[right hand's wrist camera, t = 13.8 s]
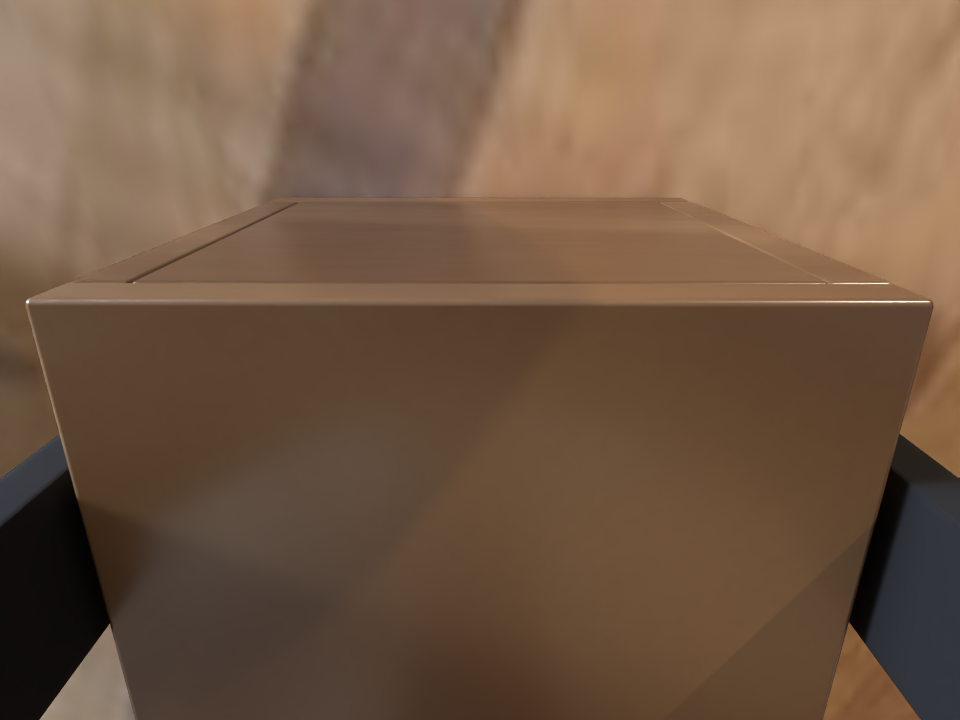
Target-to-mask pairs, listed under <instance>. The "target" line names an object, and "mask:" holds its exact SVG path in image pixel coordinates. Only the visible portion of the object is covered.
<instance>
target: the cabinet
mask: <svg viewBox="0 0 960 720" xmlns="http://www.w3.org/2000/svg"><path fill="white" fill-rule="evenodd" d="M25 306H26V310H27V314H28V317H29V321H30V325H31V329H32V332H33V336H34V340H35V344H36V347H37V351H38V355H39V359H40V362H41V366H42V370H43V374H44V377H45V381H46V385H47V389H48V392H49V396H50V400H51V404H52V407H53V411H54V415H55V419H56V422H57V426H58V430H59V434H60V437H61V441H62V445H63V449H64V452H65V456H66V460H67V464H68V468H69V471H70V475H71V479H72V483H73V486H74V490H75V494H76V498H77V501H78V505H79V509H80V513H81V516H82V520H83V524H84V528H85V531H86V535H87V539H88V543H89V546H90V550H91V554H92V558H93V561H94V565H95V569H96V573H97V576H98V580H99V584H100V588H101V591H102V595H103V599H104V603H105V606H106V610H107V614H108V618H109V621H110V625H111V629H112V633H113V636H114V640H115V644H116V648H117V651H118V655H119V659H120V663H121V667H122V670H123V674H124V678H125V682H126V685H127V689H128V693H129V697H130V700H131V704H132V708H133V712H134V715H135V719H136V720H823V716H824V712H825V709H826V705H827V701H828V698H829V694H830V690H831V686H832V683H833V679H834V675H835V672H836V668H837V664H838V660H839V657H840V653H841V649H842V645H843V642H844V638H845V634H846V631H847V627H848V623H849V619H850V616H851V612H852V608H853V604H854V601H855V597H856V593H857V590H858V586H859V582H860V578H861V575H862V571H863V567H864V563H865V560H866V556H867V552H868V549H869V545H870V541H871V537H872V534H873V530H874V526H875V523H876V519H877V515H878V511H879V508H880V504H881V500H882V496H883V493H884V489H885V485H886V482H887V478H888V474H889V470H890V467H891V463H892V459H893V455H894V452H895V448H896V444H897V441H898V437H899V433H900V429H901V426H902V422H903V418H904V414H905V411H906V407H907V403H908V400H909V396H910V392H911V388H912V385H913V381H914V377H915V374H916V370H917V366H918V362H919V359H920V355H921V351H922V347H923V344H924V340H925V336H926V333H927V329H928V325H929V321H930V318H931V314H932V310H933V302H932V301H931V300H930V299H927V298H925V297H923V296H920V295H918V294H915V293H913V292H910V291H908V290H905V289H903V288H901V287H898V286H896V285H893V284H891V283H890V282H888V281H886V280H883V279H881V278H878V277H876V276H873V275H871V274H868V273H866V272H863V271H861V270H858V269H856V268H853V267H851V266H848V265H846V264H844V263H841V262H839V261H836V260H834V259H831V258H829V257H826V256H824V255H821V254H819V253H816V252H814V251H811V250H809V249H806V248H804V247H801V246H799V245H797V244H794V243H792V242H789V241H787V240H784V239H782V238H779V237H777V236H774V235H772V234H769V233H767V232H764V231H762V230H759V229H757V228H754V227H752V226H749V225H747V224H745V223H742V222H740V221H737V220H735V219H732V218H730V217H727V216H725V215H722V214H720V213H717V212H715V211H712V210H710V209H707V208H705V207H702V206H700V205H697V204H695V203H693V202H689V201H686V200H684V199H681V198H302V197H280V198H277V199H275V200H272V201H270V202H267V203H265V204H262V205H260V206H257V207H255V208H253V209H250V210H248V211H245V212H243V213H240V214H238V215H235V216H233V217H230V218H228V219H225V220H223V221H220V222H218V223H215V224H213V225H210V226H208V227H205V228H203V229H200V230H198V231H195V232H193V233H190V234H188V235H185V236H183V237H180V238H178V239H176V240H173V241H171V242H168V243H166V244H163V245H161V246H158V247H156V248H153V249H151V250H148V251H146V252H143V253H141V254H138V255H136V256H133V257H131V258H128V259H126V260H123V261H121V262H118V263H116V264H113V265H111V266H108V267H106V268H104V269H101V270H99V271H96V272H94V273H91V274H89V275H86V276H84V277H81V278H79V279H76V280H74V281H72V282H71V283H66V284H63V285H61V286H58V287H56V288H53V289H51V290H48V291H46V292H43V293H41V294H38V295H36V296H33V297H31V298H29V299H27V300H26V305H25Z"/></svg>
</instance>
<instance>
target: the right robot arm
mask: <svg viewBox="0 0 960 720" xmlns="http://www.w3.org/2000/svg"><path fill="white" fill-rule="evenodd" d="M849 622H850V624H851V625H852V626H853V628H854V629H855V631H856V632H857V633H858V635H859V636H860V637H861V639H862V640H863V641H864V643H865V644H866V646H867V647H868V648H869V650H870V651H871V652H872V654H873V655H874V657H875V658H876V659H877V661H878V662H879V663H880V665H881V666H882V667H883V669H884V670H885V672H886V673H887V674H888V676H889V677H890V678H891V680H892V681H893V682H894V684H895V685H896V687H897V688H898V689H899V691H900V692H901V693H902V695H903V696H904V697H905V699H906V700H907V702H908V703H909V704H910V706H911V707H912V708H913V710H914V711H915V713H916V714H917V715H918V717H919V718H920V719H921V720H960V478H957V477H956V476H955V475H953V474H952V473H951V472H950V471H948V470H947V469H946V468H944V467H943V466H942V465H940V464H939V463H938V462H936V461H935V460H934V459H932V458H931V457H930V456H928V455H927V454H926V453H924V452H923V451H922V450H920V449H919V448H918V447H916V446H915V445H914V444H912V443H911V442H910V441H908V440H907V439H906V438H904V437H903V436H902V435H900V434H899V437H898V441H897V444H896V448H895V452H894V455H893V459H892V463H891V467H890V470H889V474H888V478H887V482H886V485H885V489H884V493H883V496H882V500H881V504H880V508H879V511H878V515H877V519H876V523H875V526H874V530H873V534H872V537H871V541H870V545H869V549H868V552H867V556H866V560H865V563H864V567H863V571H862V575H861V578H860V582H859V586H858V590H857V593H856V597H855V601H854V604H853V608H852V612H851V616H850V619H849ZM109 624H110V621H109V618H108V614H107V610H106V606H105V603H104V599H103V595H102V591H101V588H100V584H99V580H98V576H97V573H96V569H95V565H94V561H93V558H92V554H91V550H90V546H89V543H88V539H87V535H86V531H85V528H84V524H83V520H82V516H81V513H80V509H79V505H78V501H77V498H76V494H75V490H74V486H73V483H72V479H71V475H70V471H69V468H68V464H67V460H66V456H65V452H64V449H63V445H62V441H61V437H60V435H58V436H57V437H56V438H54V439H53V440H52V441H50V442H49V443H48V444H46V445H45V446H44V447H42V448H41V449H40V450H38V451H37V452H36V453H34V454H33V455H32V456H30V457H29V458H28V459H26V460H25V461H24V462H22V463H21V464H20V465H18V466H17V467H16V468H14V469H13V470H12V471H10V472H9V473H8V474H6V475H5V476H4V477H3V478H1V479H0V720H39V719H40V718H41V717H42V715H43V714H44V712H45V711H46V710H47V708H48V707H49V706H50V704H51V703H52V702H53V700H54V699H55V697H56V696H57V695H58V693H59V692H60V691H61V689H62V688H63V687H64V685H65V684H66V682H67V681H68V680H69V678H70V677H71V676H72V674H73V673H74V672H75V670H76V669H77V667H78V666H79V665H80V663H81V662H82V661H83V659H84V658H85V656H86V655H87V654H88V652H89V651H90V650H91V648H92V647H93V646H94V644H95V643H96V641H97V640H98V639H99V637H100V636H101V635H102V633H103V632H104V631H105V629H106V628H107V626H108V625H109Z"/></svg>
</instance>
